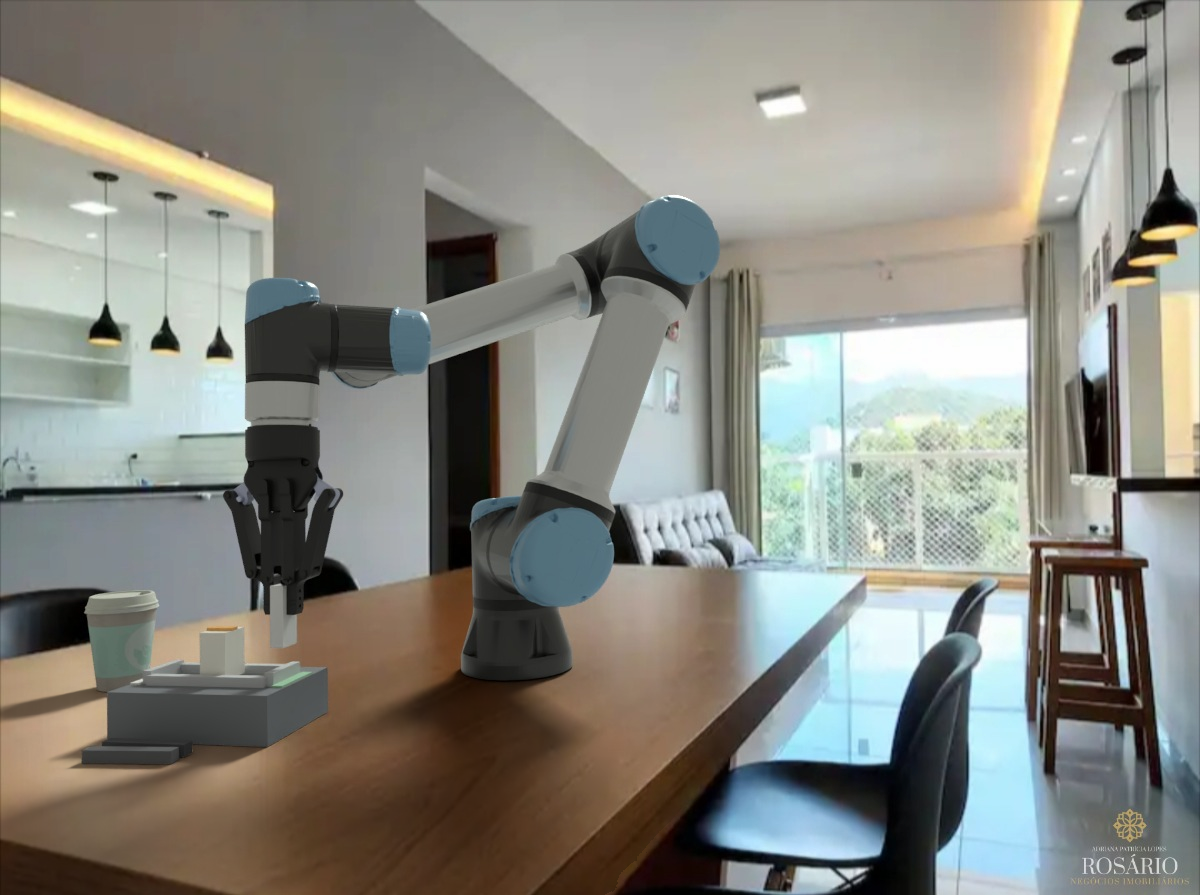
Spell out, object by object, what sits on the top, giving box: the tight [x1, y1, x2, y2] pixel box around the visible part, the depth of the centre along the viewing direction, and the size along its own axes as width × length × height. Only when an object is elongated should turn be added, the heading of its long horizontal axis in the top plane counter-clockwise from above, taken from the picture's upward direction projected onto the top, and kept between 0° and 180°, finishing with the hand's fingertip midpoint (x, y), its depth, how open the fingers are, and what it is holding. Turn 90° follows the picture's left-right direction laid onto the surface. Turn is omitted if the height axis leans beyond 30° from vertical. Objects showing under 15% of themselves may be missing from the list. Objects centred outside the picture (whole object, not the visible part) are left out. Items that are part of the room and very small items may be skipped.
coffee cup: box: [83, 589, 160, 693], centre depth 107 cm, size 8×8×12 cm
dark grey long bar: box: [101, 738, 194, 758], centre depth 80 cm, size 9×1×1 cm, turn 80°
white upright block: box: [199, 625, 246, 675], centre depth 89 cm, size 3×3×5 cm
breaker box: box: [106, 659, 329, 748], centre depth 88 cm, size 18×12×6 cm, turn 80°
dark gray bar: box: [81, 745, 180, 765], centre depth 78 cm, size 9×1×1 cm, turn 84°
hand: (283, 645), depth 87 cm, fingers closed
